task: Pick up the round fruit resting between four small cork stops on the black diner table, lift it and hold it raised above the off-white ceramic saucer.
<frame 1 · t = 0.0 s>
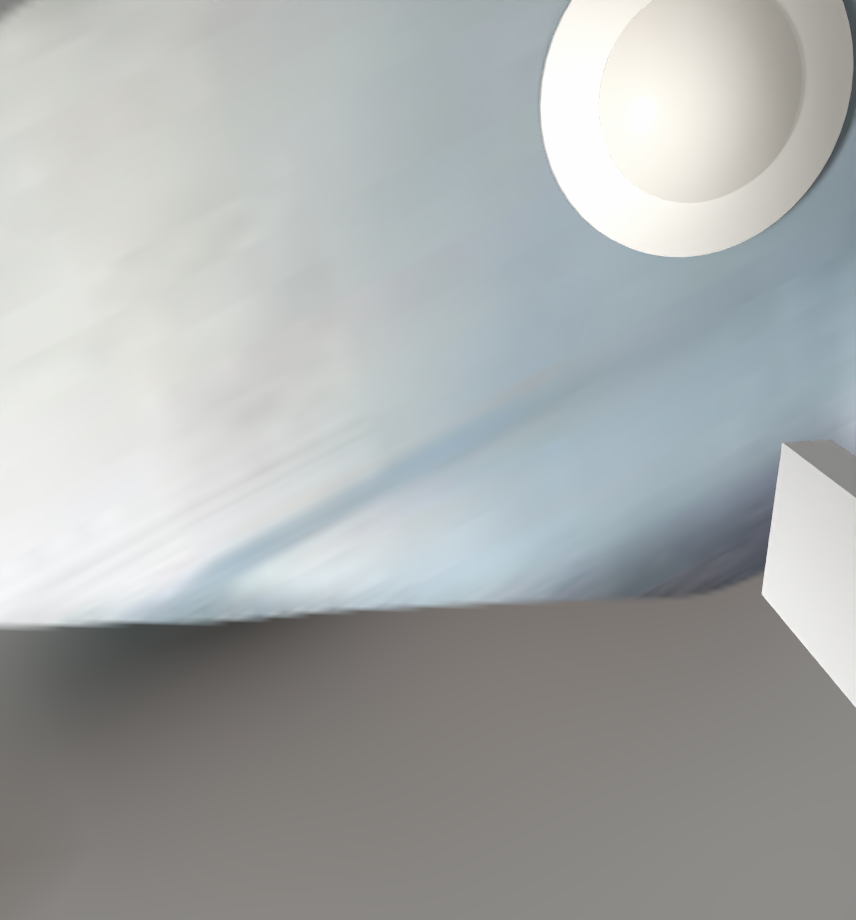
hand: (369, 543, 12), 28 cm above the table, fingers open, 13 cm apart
saucer: (689, 98, 36), on the table
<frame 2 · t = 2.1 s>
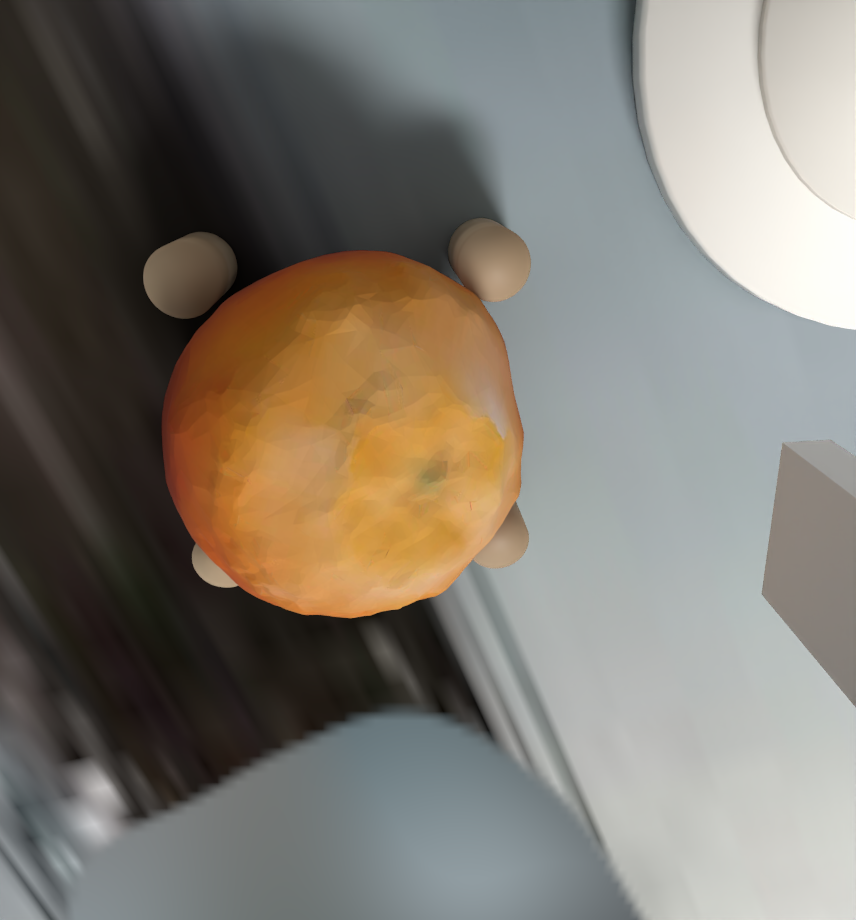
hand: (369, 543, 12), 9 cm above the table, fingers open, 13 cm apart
fruit: (353, 388, 21), on the table
cork stops: (353, 390, 21), on the table
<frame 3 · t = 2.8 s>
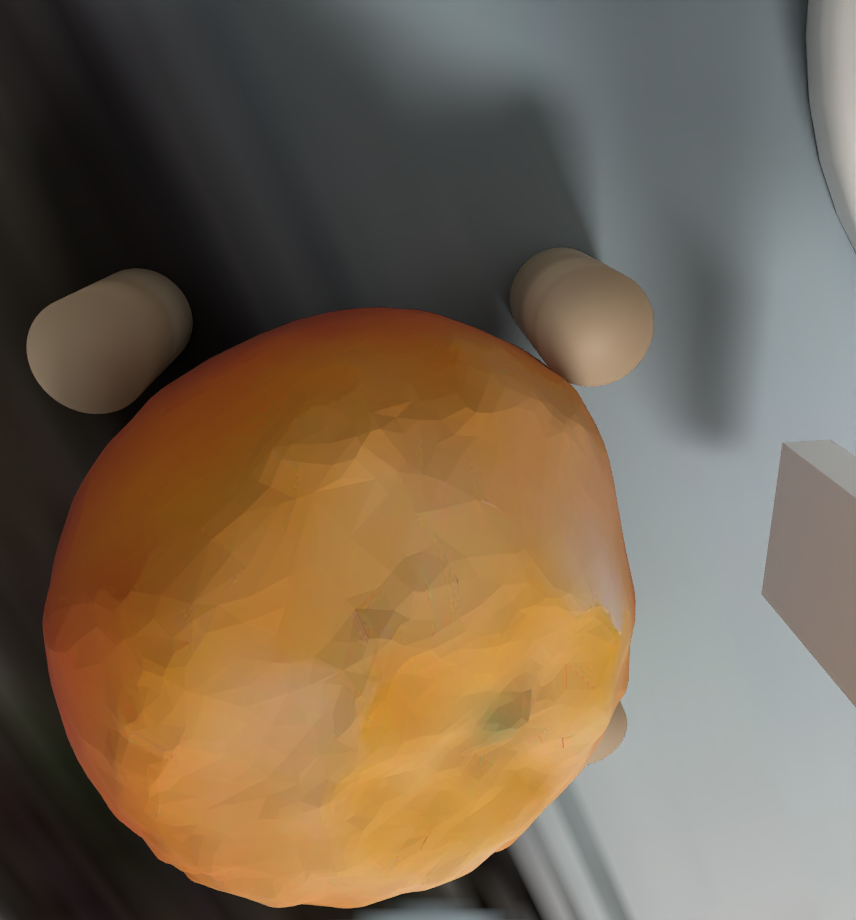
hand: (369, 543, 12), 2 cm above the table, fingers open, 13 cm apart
fruit: (365, 491, 14), on the table
cork stops: (366, 495, 14), on the table
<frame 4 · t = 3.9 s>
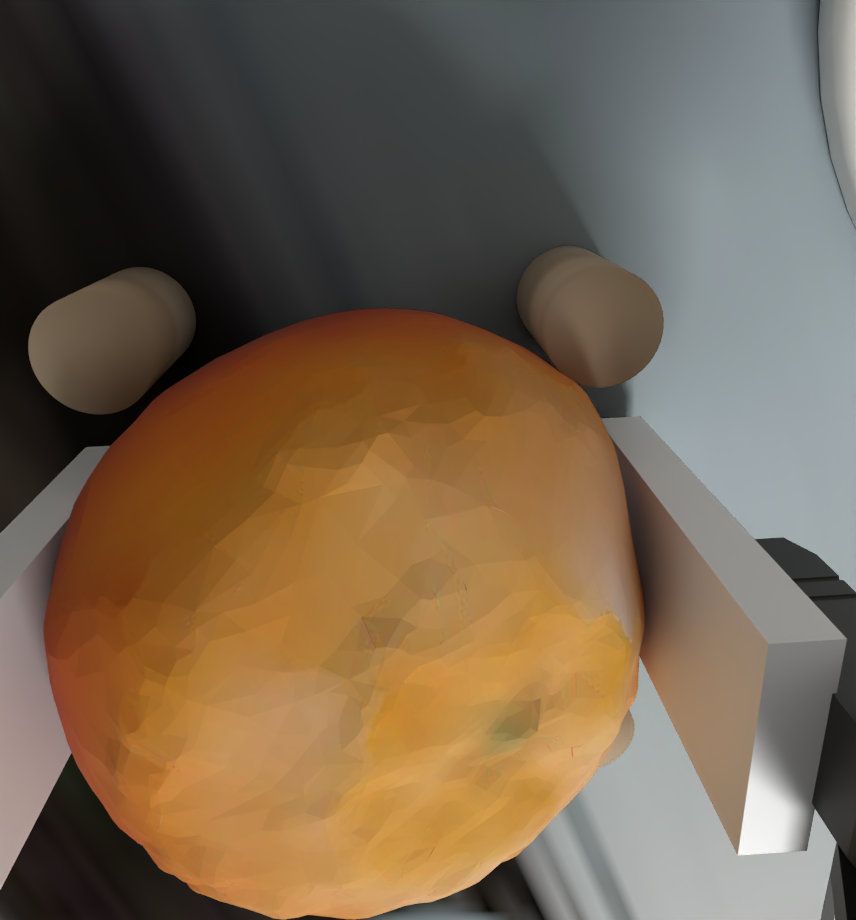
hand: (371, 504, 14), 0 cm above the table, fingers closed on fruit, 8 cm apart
fruit: (370, 494, 14), on the table, touching gripper
cork stops: (371, 496, 14), on the table
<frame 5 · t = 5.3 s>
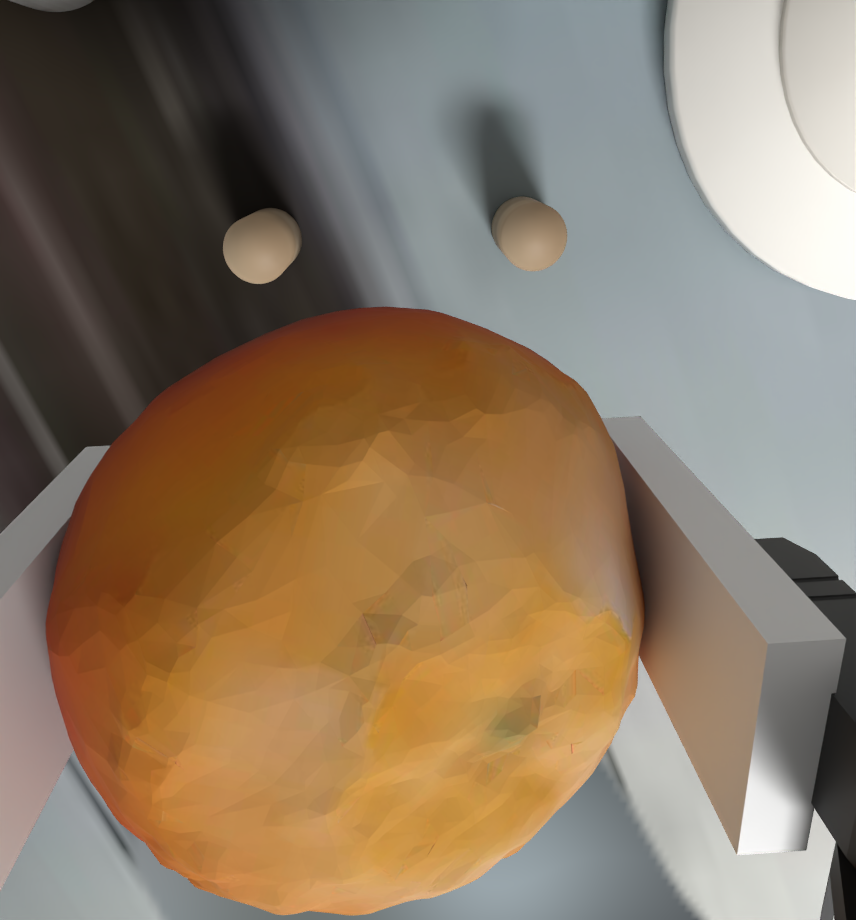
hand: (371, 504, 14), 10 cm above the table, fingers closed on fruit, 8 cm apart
fruit: (371, 492, 14), point 9 cm above the table, touching gripper
cork stops: (403, 353, 23), on the table
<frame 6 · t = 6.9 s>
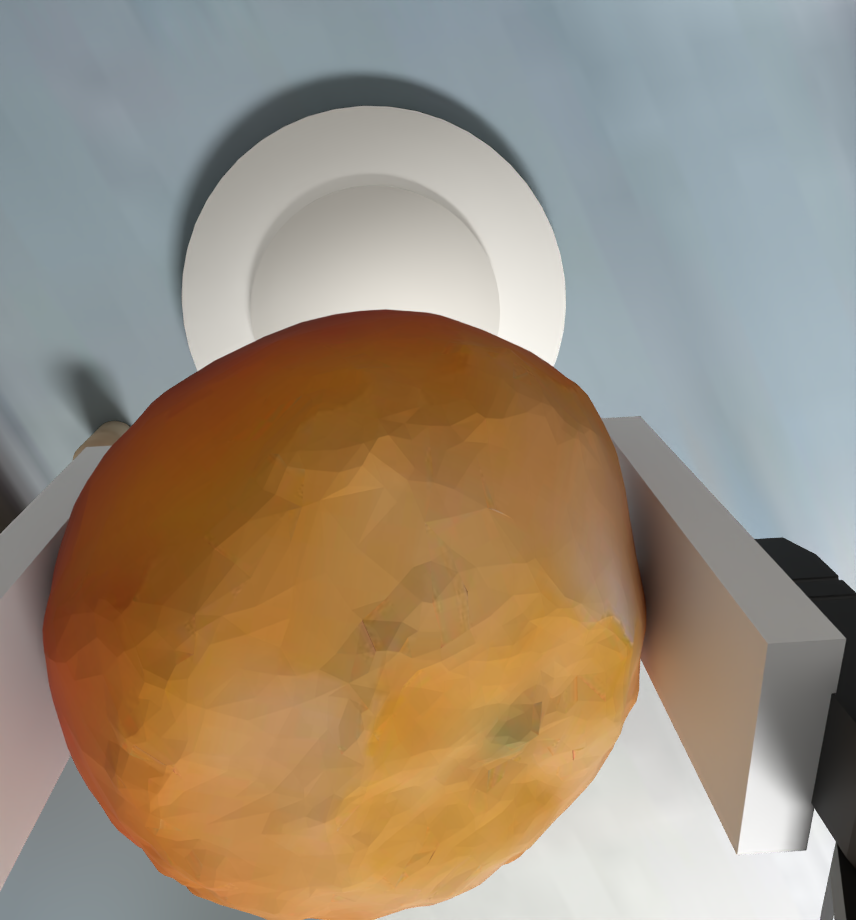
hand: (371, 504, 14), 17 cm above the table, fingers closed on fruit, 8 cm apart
fruit: (371, 495, 14), point 17 cm above the table, touching gripper
saucer: (376, 309, 30), on the table
cork stops: (49, 522, 32), on the table
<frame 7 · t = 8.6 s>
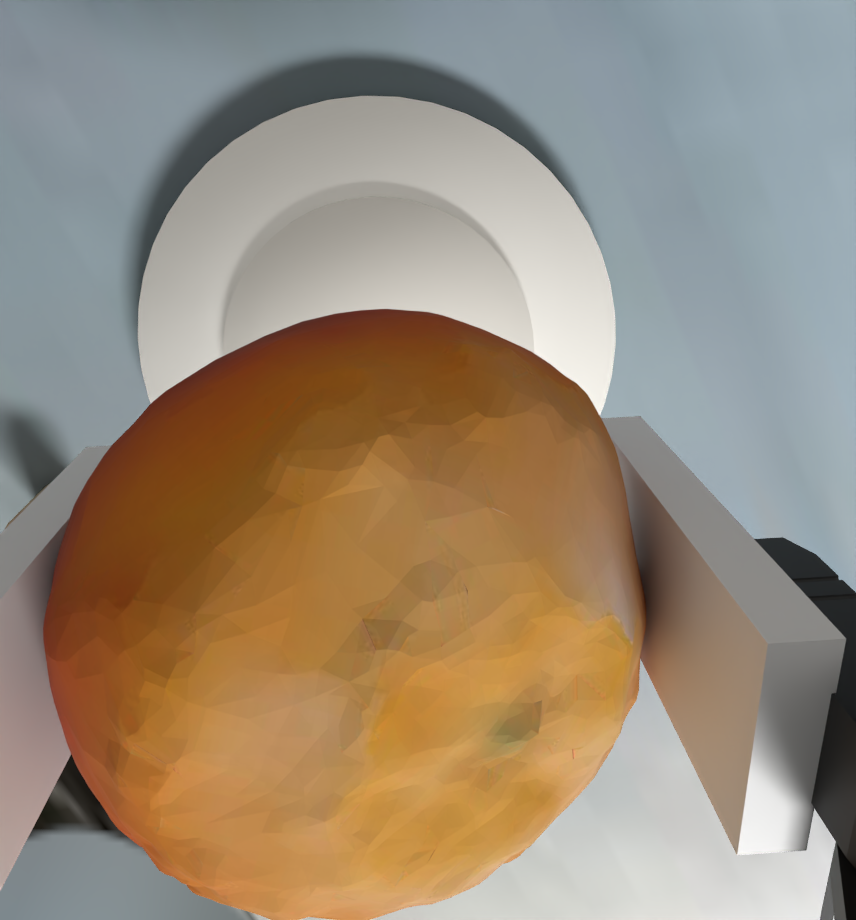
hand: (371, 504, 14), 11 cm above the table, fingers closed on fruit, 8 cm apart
fruit: (371, 495, 14), point 11 cm above the table, touching gripper
saucer: (380, 348, 24), on the table
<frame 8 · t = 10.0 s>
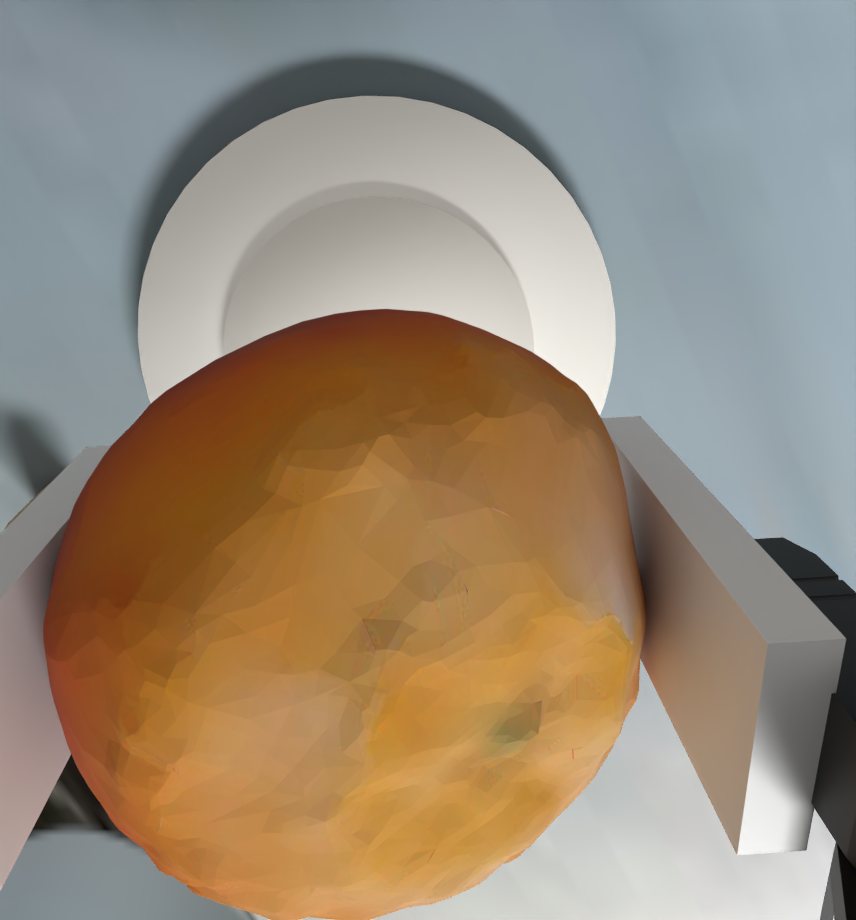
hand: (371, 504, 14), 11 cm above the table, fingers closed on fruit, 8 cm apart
fruit: (371, 495, 14), point 11 cm above the table, touching gripper
saucer: (380, 348, 24), on the table
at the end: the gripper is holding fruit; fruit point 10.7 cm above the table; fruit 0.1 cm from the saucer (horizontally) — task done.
